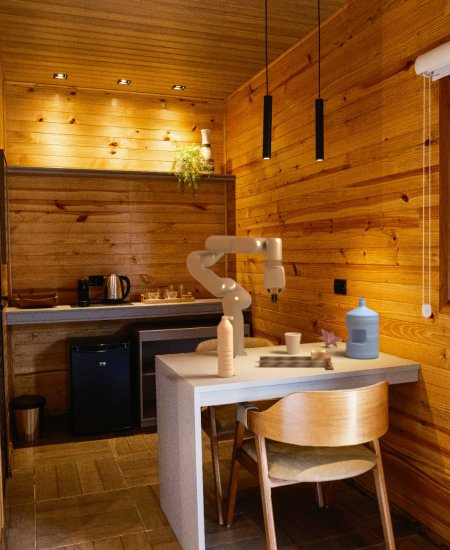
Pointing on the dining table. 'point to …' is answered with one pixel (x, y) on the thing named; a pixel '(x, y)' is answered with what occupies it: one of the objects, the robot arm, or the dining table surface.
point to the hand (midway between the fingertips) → (274, 302)
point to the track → (294, 362)
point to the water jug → (362, 332)
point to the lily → (330, 338)
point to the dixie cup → (292, 343)
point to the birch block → (318, 355)
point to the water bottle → (225, 347)
